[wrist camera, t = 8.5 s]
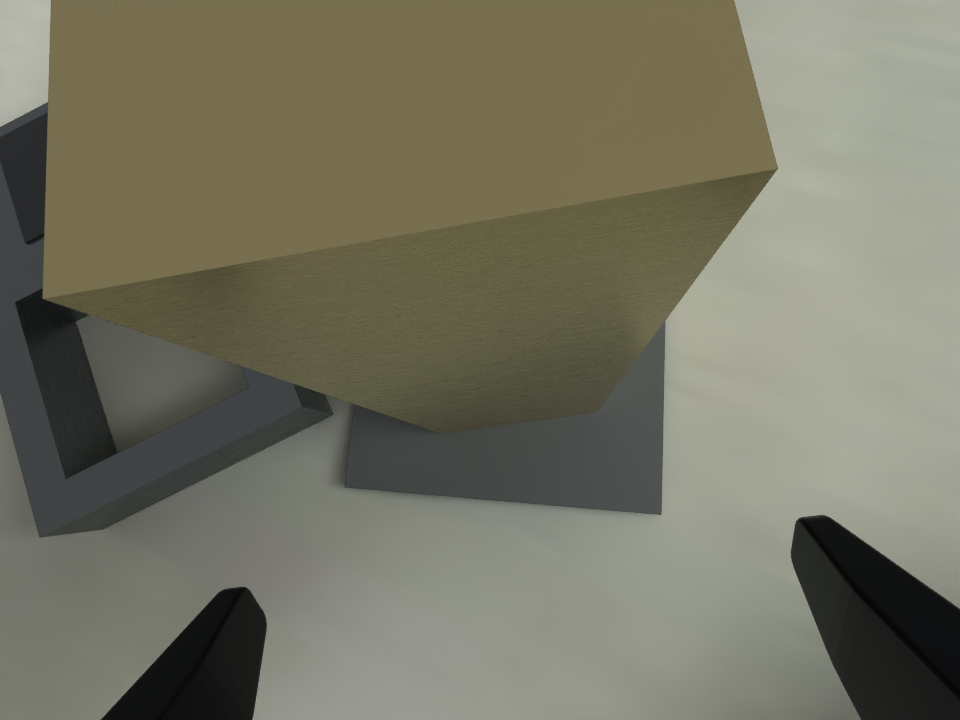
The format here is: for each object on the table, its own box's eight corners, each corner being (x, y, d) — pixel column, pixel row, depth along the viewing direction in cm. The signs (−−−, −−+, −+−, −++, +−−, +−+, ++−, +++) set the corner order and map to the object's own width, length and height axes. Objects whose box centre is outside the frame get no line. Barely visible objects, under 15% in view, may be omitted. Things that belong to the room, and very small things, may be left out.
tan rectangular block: (597, 412, 18) (779, 169, 4) (442, 434, 19) (42, 298, 4) (571, 264, 19) (630, -398, 5) (425, 288, 20) (58, -240, 5)
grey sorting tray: (333, 414, 20) (300, 406, 17) (102, 529, 20) (37, 537, 17) (199, 90, 23) (155, 43, 20) (2, 192, 23) (-66, 158, 21)
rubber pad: (659, 513, 18) (661, 514, 17) (348, 486, 19) (344, 487, 19) (665, 211, 20) (667, 206, 19) (381, 206, 21) (378, 201, 21)
